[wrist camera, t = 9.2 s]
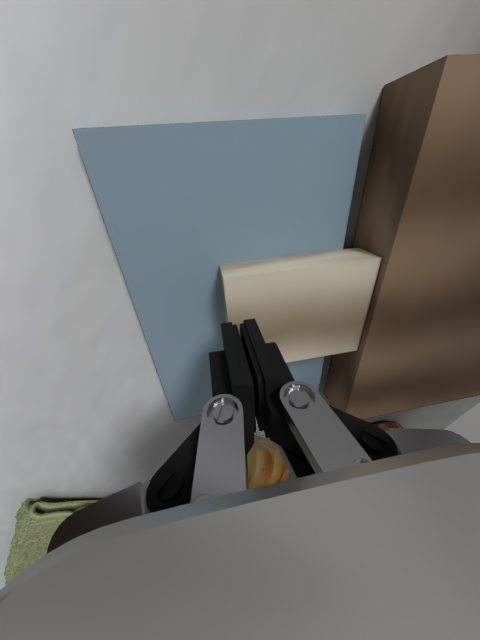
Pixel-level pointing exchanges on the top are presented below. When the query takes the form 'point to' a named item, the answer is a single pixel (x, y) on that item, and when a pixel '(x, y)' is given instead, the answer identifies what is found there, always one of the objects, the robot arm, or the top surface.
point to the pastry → (266, 464)
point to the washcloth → (37, 531)
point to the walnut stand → (419, 248)
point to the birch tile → (303, 299)
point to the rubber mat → (215, 222)
